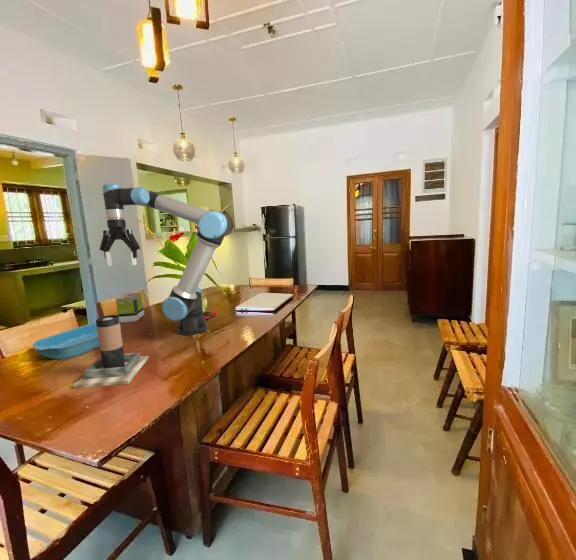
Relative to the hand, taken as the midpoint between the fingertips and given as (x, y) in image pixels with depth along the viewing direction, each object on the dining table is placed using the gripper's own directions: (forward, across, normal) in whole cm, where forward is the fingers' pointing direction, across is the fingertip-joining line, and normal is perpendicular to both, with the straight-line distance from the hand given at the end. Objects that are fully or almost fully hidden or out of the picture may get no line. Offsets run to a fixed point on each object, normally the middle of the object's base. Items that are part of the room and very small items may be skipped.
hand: (121, 265), depth 152 cm
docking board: (+37, -19, +32) cm, 53 cm away
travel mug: (+36, -19, +32) cm, 52 cm away
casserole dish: (+37, +17, +12) cm, 43 cm away
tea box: (+37, +27, -34) cm, 57 cm away
